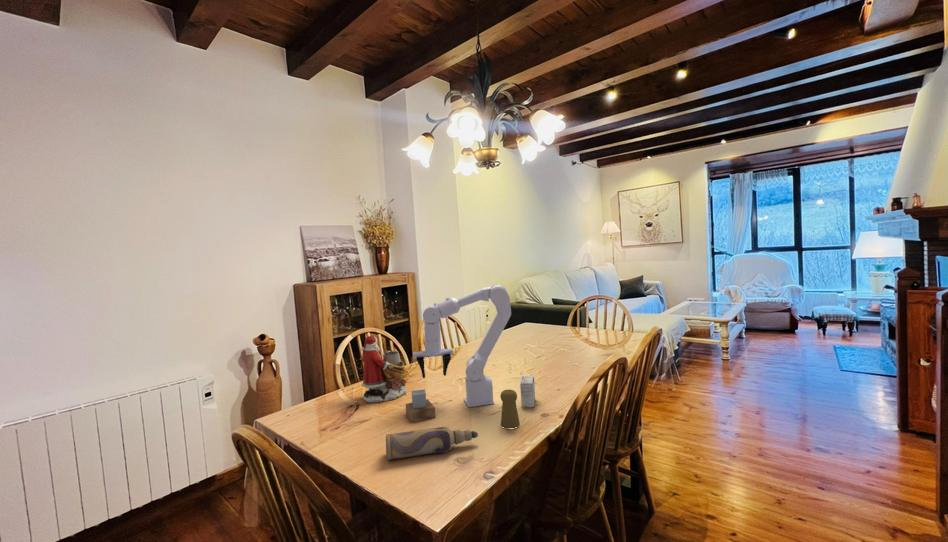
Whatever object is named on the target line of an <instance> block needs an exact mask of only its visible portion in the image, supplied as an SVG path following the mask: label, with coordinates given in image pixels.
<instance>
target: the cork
mask: <svg viewBox="0 0 948 542" xmlns="http://www.w3.org/2000/svg"><path fill="white" fill-rule="evenodd" d="M500 399H501V401H502V404H501V405H502V406H501V417H500V427H501V426H502V427H504V428H515V427H518V426H519V425H520V424H521V423H520V419H519V412H518V408H517V399H518V394H517V392H516V391H515V390H514V389H504V390H502V391H501V392H500ZM520 426H521V425H520ZM520 426H519V427H520ZM502 427H501V428H502ZM519 427H518V428H519ZM504 428H503V429H504Z"/></svg>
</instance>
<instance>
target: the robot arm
mask: <svg viewBox="0 0 948 542" xmlns="http://www.w3.org/2000/svg"><path fill="white" fill-rule="evenodd" d="M489 300H490V301H491V302H492V304H493V305H494V307H495V310H496V315H495V317H494V319H493V320H492V322H491V324H490V326H489V328H488V329H487V331H486V334H485V335H484V337H483V339H482V340H481V343H480V345H479V346H478V348H477V349H476V351H475V352H474V354H473V356H472V357H469V359H467V361H466V369H465V375H466V376H465V378H464V379H465V393H466V394H465V396H466V397H464V398H463V401H464V402H465V404H466V405H467V407H468V408H473V407H479V406H480V407H481V406H486V405H492V404H494V403H495V402H494V389H493V382H492V381H493V380H492V378H491V377H490V376H488V375H487V376H486V374H484V369H485V367H486V365H487V362H488V359H489V356H490V355H491V354H492V352H493V350H494V348H495V345H496V343H497V342H498V340H499V338H500V337H501V335H502V333H503V331H504V329H505V327H506V325H507V324H508V322H509V320H510V318H511V316H512V307H511V297H510V296H509V294H508V291H507V289H506V287H505V286H503V285H502V284H498V283H495V284H494V285H492V286H486V287H484V288H483V287H481V288H480V289H478V290H475V291H473V292H471V293H469V294H466V295H464V296H461V297H460V298H458V299H457V298H455V297H446V298H445V300H443V301H441V302H438V303H437V302H435V303H433V305H429V306H428V307H426V308H425V309H424V310H423V313H422V319H423V321H424V323H423V324H424V328H423V329H424V330H423V332H424V350H421V351H416V352H415V351H414V352H412V358H413V360H414V359H415V360H416V363H417V365H419V368H420V370H421V371H420V372H421V377H422V379H426V373H425V359H424V358H432V357H433V358H435V357H440V356H441V358H442V374H443V376H444V377H446V376H447V372H448V371H447V370H448V367H449V363H450V362H451V360H452V356H453V355H454V349H453V348H442V344H441V340H442V339H441V325H440V319H444V318H447V317H449V316H452V315H455V314H458V313H459V311H460V310H461V308H463V307H465V306H468V305H471V304H473V303H477V302H479V301H484V302H487V303H488V302H489ZM489 303H490V302H489Z"/></svg>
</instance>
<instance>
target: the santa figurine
mask: <svg viewBox="0 0 948 542" xmlns="http://www.w3.org/2000/svg"><path fill="white" fill-rule="evenodd" d="M360 350H361V351H362V352H361V361H362V363H363V379H362V381H363V382H362V383H361V386H362V387H363V388H366V389H367V390H366V391H364V393H363V396H362V398H363V400H364V402H365V401H366V402H365V403H368V404H371V403H372V404H374V403H383V402H382V401H385V402H389V401H388V400H390V401H393V400H392V399H394V400H396V399H398V398H401V397H402V395H403V396H405V395H406V394H407V388H406V387H405V386H406V383H403V382H401V376H402V374H403V372H404V371H403V369H404V368H405V367H406V366H405V363H404V362H403V361H402V359H401V358H400V353H399V351H397V350H393V351H386V352H384V353H383V354H382V356H381V354H380V350H381V347H379V345H378V338H377V336H374V335H370V336H367V337H366V338H365V340H364V344H363V346H361V348H360ZM397 397H398V398H397Z"/></svg>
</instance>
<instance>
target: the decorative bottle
mask: <svg viewBox="0 0 948 542" xmlns="http://www.w3.org/2000/svg"><path fill="white" fill-rule="evenodd" d="M478 434H479V433H478V432H477V431H475V430H470V429H468V430H467V429H466V430H461V429H457V430H456V429H455V430H451V429H450V428H449V426H441V427H440V426H439V427H433V428H425V429H417V430H411V431H410V430H409V431H403V432H396V433H388V434H386V435H385V453H386V459H387V461H391V460H397V459H405V458H410V457H416V456H423V455H428V454H435V453H436V454H444V452H445V453H447V452H450V451H451V450H452V449H454V448H455V446H457V445H458V444H462V443H464V442H468V441H472V439H475V438H478V437H479V435H478ZM449 450H450V451H449ZM446 451H447V452H446Z"/></svg>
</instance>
